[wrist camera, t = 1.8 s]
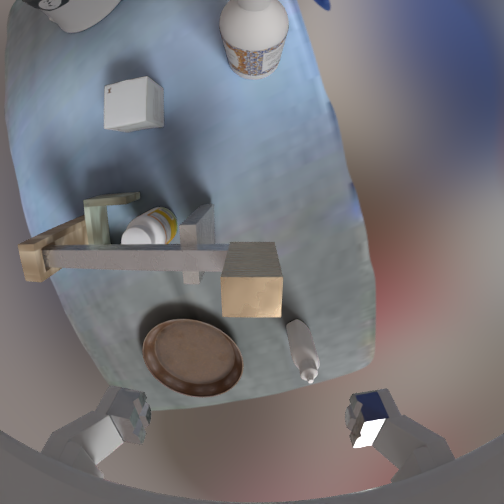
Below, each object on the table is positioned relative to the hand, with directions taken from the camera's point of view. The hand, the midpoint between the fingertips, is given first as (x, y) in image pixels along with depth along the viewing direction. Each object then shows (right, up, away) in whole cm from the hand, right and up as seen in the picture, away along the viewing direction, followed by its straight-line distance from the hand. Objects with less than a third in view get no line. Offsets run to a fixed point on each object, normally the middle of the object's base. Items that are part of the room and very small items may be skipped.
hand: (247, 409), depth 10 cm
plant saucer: (-10, -12, +38) cm, 41 cm away
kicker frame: (-20, +10, +30) cm, 37 cm away
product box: (-15, +26, +25) cm, 39 cm away
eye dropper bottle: (+8, -7, +36) cm, 37 cm away
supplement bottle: (-13, +10, +30) cm, 34 cm away
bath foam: (0, +33, +23) cm, 40 cm away
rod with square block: (-11, +10, +29) cm, 32 cm away
